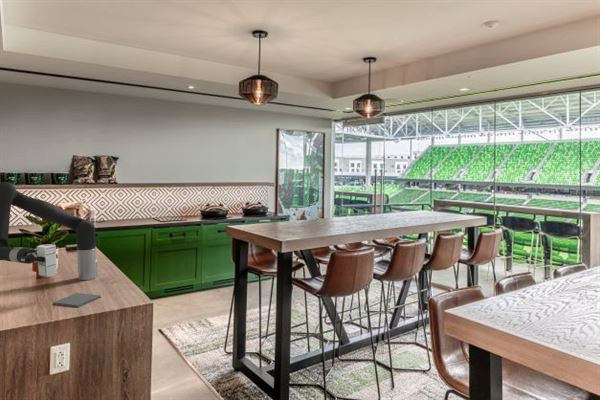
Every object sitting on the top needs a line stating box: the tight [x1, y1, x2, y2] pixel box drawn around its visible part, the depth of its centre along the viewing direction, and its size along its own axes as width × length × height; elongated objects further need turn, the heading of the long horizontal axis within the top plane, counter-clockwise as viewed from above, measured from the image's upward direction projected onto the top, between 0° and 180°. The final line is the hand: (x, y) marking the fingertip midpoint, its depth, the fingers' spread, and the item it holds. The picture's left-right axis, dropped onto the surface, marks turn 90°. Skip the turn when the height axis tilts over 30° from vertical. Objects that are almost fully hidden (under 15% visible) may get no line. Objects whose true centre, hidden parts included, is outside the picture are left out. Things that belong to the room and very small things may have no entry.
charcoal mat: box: [52, 292, 102, 308], centre depth 185 cm, size 14×14×1 cm
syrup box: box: [36, 243, 58, 278], centre depth 185 cm, size 6×6×14 cm
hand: (51, 257), depth 184 cm, fingers closed on syrup box, 6 cm apart
